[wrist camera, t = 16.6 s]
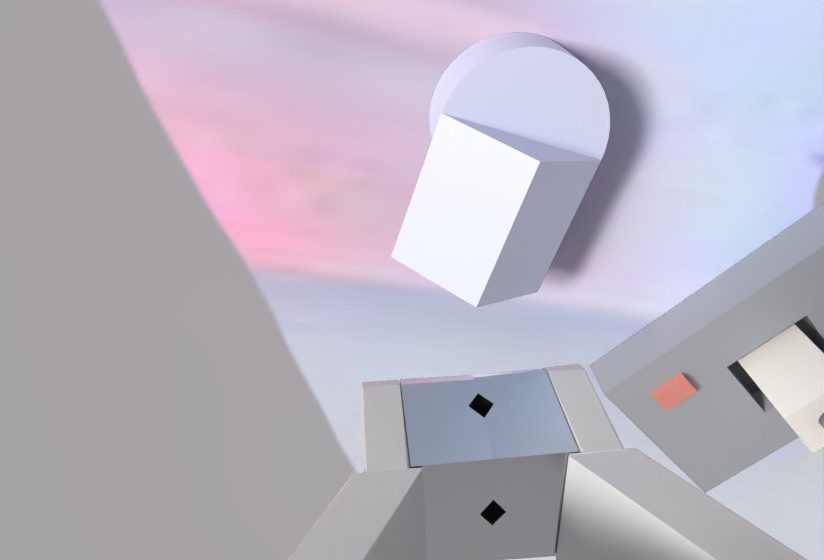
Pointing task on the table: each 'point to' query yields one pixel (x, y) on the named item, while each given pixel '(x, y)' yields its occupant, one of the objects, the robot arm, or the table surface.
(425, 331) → the table surface
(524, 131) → the wedge on round base
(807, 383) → the plug
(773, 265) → the socket plate
